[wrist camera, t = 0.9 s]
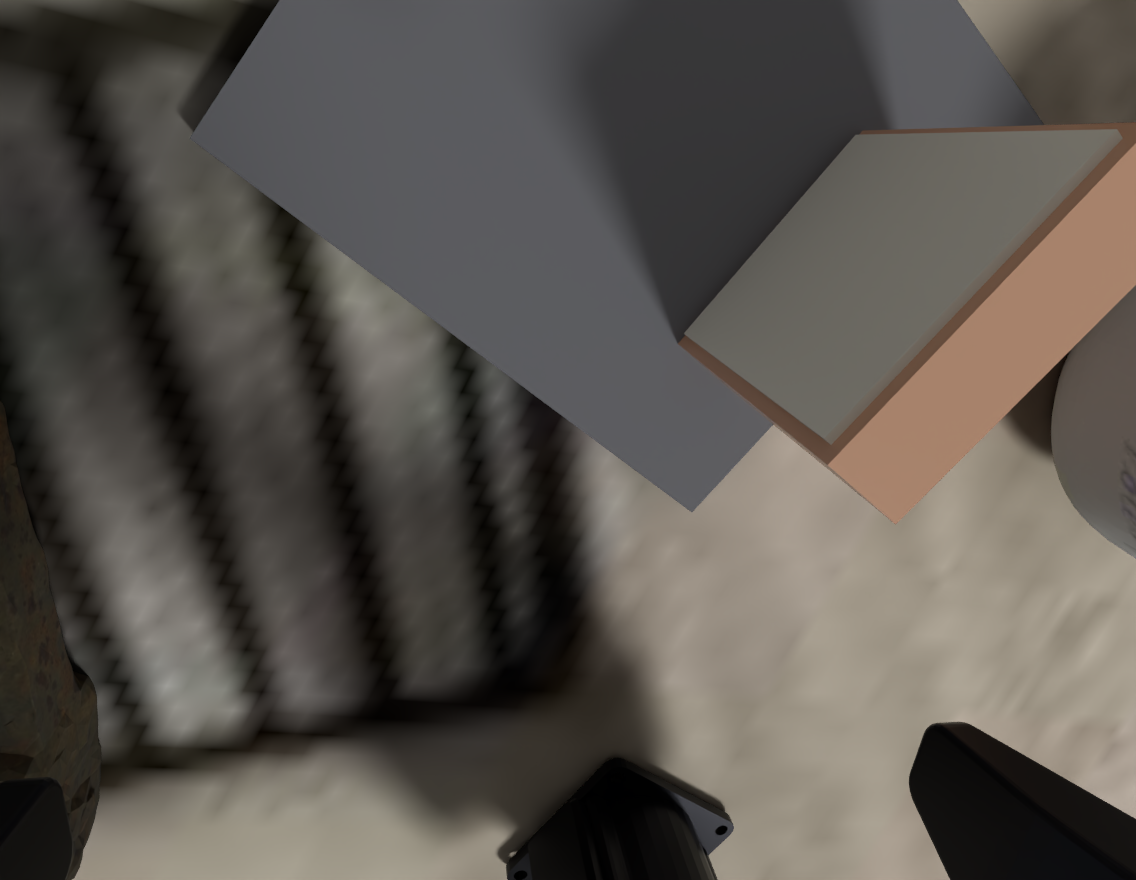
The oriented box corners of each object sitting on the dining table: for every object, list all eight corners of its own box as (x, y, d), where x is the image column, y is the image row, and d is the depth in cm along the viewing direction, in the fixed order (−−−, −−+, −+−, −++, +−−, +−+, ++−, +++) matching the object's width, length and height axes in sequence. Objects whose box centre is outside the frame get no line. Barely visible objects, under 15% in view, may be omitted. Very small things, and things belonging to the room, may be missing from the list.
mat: (1029, 129, 19) (1046, 128, 19) (685, 503, 22) (691, 512, 21) (599, -477, 13) (607, -502, 13) (197, 138, 16) (189, 137, 15)
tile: (907, 184, 19) (1210, 210, 11) (726, 386, 20) (895, 524, 13) (857, 124, 18) (1151, 111, 11) (672, 339, 19) (820, 458, 12)
